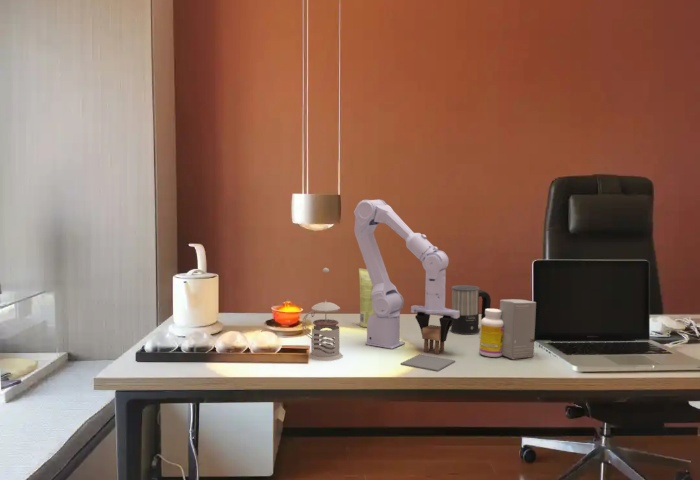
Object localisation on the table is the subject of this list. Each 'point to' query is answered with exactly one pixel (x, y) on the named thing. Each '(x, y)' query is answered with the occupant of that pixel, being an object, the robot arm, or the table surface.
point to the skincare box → (518, 328)
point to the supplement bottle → (491, 333)
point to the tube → (365, 297)
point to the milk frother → (468, 308)
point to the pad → (428, 362)
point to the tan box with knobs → (432, 338)
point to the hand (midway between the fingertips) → (434, 339)
